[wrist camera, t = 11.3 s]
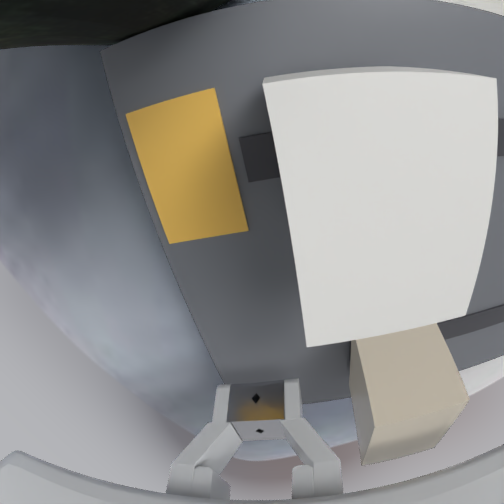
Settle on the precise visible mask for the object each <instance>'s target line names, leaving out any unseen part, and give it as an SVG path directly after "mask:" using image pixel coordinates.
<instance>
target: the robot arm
mask: <svg viewBox="0 0 504 504" xmlns="http://www.w3.org/2000/svg"><path fill="white" fill-rule="evenodd" d="M274 439H286V440H287V441H288V443H289V444H290V446H291V447H292V448H293V450H294V451H295V453H296V454H297V455H298V457H299V458H300V459H301V461H302V462H303V463H304V465H299V466H295V467H294V468H293V469H292V499H287V500H230V485H229V484H228V483H227V482H226V481H225V480H224V479H222V478H221V477H220V476H219V475H220V474H221V472H222V471H223V470H224V468H225V467H226V465H227V464H228V462H229V461H230V460H231V458H232V457H233V456H234V454H235V453H236V451H237V450H238V448H239V447H240V445H241V444H242V443H243V442H242V441H254V440H274ZM340 462H341V461H340V459H339V458H338V457H337V455H336V454H335V453H334V452H333V451H332V450H331V449H330V447H329V446H328V445H327V444H326V443H325V442H324V440H323V439H322V438H321V437H320V436H319V434H318V433H317V432H316V431H315V430H314V428H313V427H312V426H311V425H310V424H309V422H308V421H307V420H306V419H305V418H303V407H302V398H301V390H300V384H299V379H298V378H295V379H287V380H276V381H266V382H257V383H242V384H219V385H218V386H217V388H216V395H215V402H214V409H213V416H212V422H208V423H207V424H206V425H205V426H204V428H203V429H202V430H201V431H200V432H199V433H198V434H197V435H196V437H195V438H194V439H193V440H192V441H191V442H190V443H189V445H188V446H187V447H186V448H185V449H184V450H183V451H182V452H181V453H180V454H179V455H178V457H177V458H176V459H175V460H174V461H173V462H172V463H171V468H170V474H169V479H168V484H167V490H166V493H159V492H153V491H148V490H143V489H138V488H133V487H128V486H124V485H119V484H115V483H111V482H107V481H104V480H100V479H96V478H92V477H89V476H86V475H83V474H80V473H77V472H73V471H71V470H67V469H65V468H62V467H59V466H56V465H54V464H51V463H48V462H46V461H43V460H41V459H38V458H36V457H33V456H31V455H29V454H26V453H24V452H22V451H14V452H12V453H10V454H9V455H8V456H6V457H5V458H4V459H3V460H1V461H0V504H504V444H503V445H501V446H499V447H497V448H495V449H492V450H490V451H488V452H486V453H483V454H481V455H479V456H477V457H474V458H472V459H469V460H467V461H464V462H462V463H459V464H456V465H454V466H452V467H448V468H446V469H443V470H440V471H437V472H434V473H431V474H428V475H424V476H421V477H417V478H414V479H410V480H407V481H403V482H399V483H395V484H391V485H387V486H383V487H378V488H373V489H368V490H363V491H357V492H351V493H345V494H343V484H342V472H341V463H340Z"/></svg>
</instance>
